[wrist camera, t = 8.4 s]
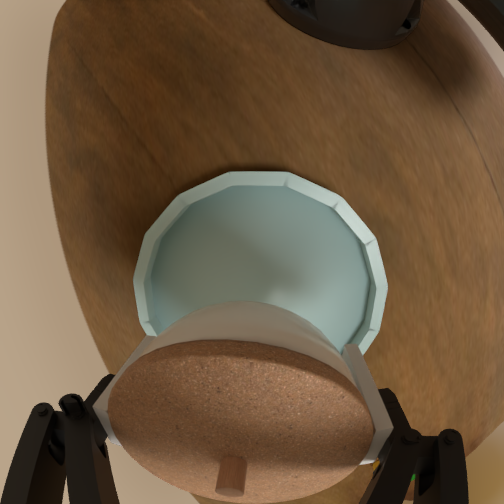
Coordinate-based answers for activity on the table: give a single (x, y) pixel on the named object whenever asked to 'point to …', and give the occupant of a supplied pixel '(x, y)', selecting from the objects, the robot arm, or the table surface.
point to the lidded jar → (242, 406)
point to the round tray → (263, 256)
